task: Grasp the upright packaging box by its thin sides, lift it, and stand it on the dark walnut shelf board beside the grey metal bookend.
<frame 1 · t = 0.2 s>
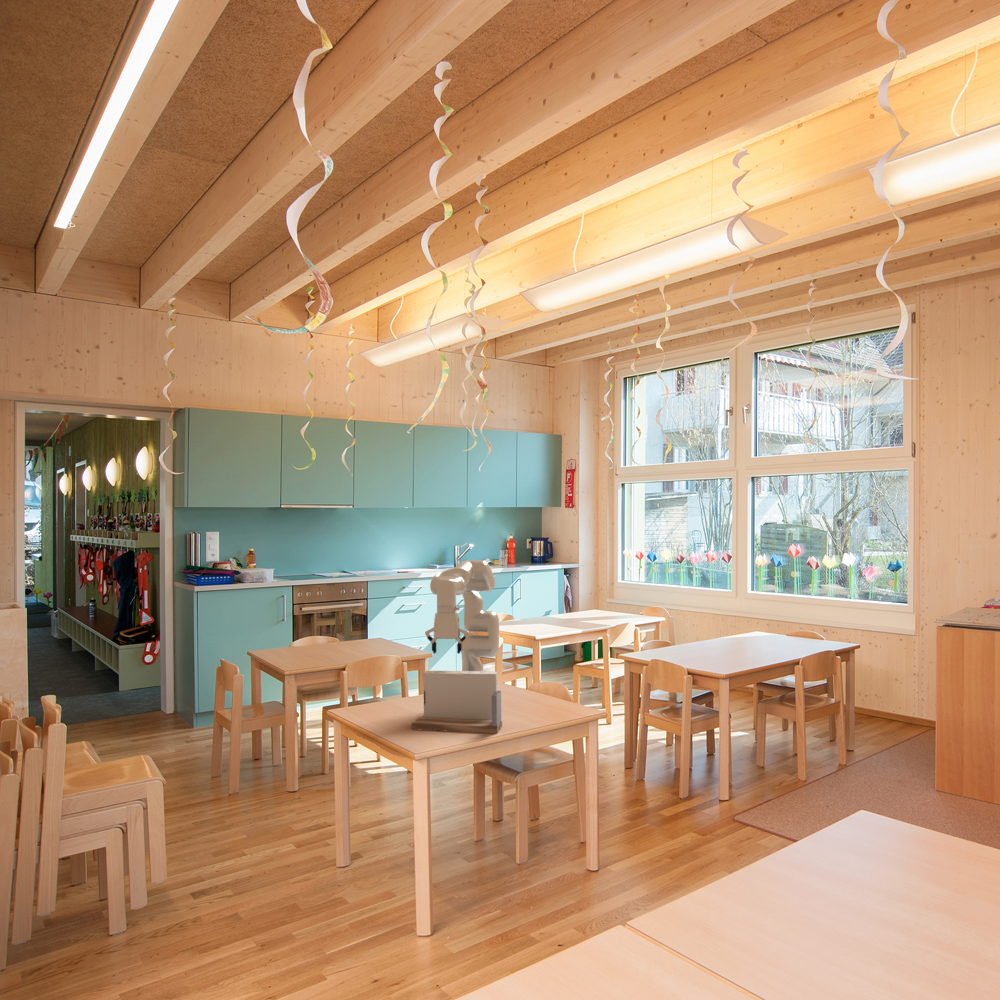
hand: (446, 652, 305), 31 cm above the table, tool pointing down, fingers open, 9 cm apart
packaging: (461, 720, 321), on the table
shelf: (457, 728, 309), on the table
bookend: (496, 723, 306), resting on shelf
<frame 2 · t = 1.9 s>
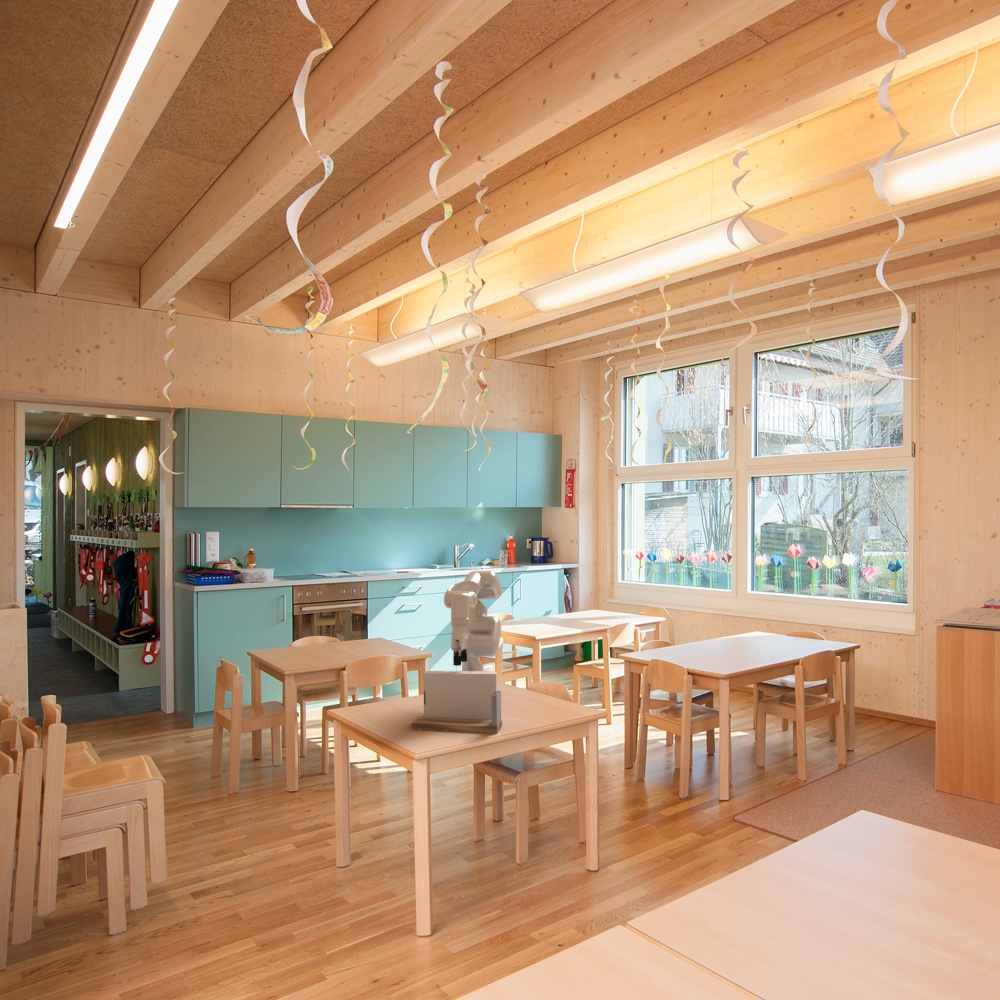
hand: (460, 663, 322), 24 cm above the table, tool pointing down, fingers open, 9 cm apart
nothing on the table moved.
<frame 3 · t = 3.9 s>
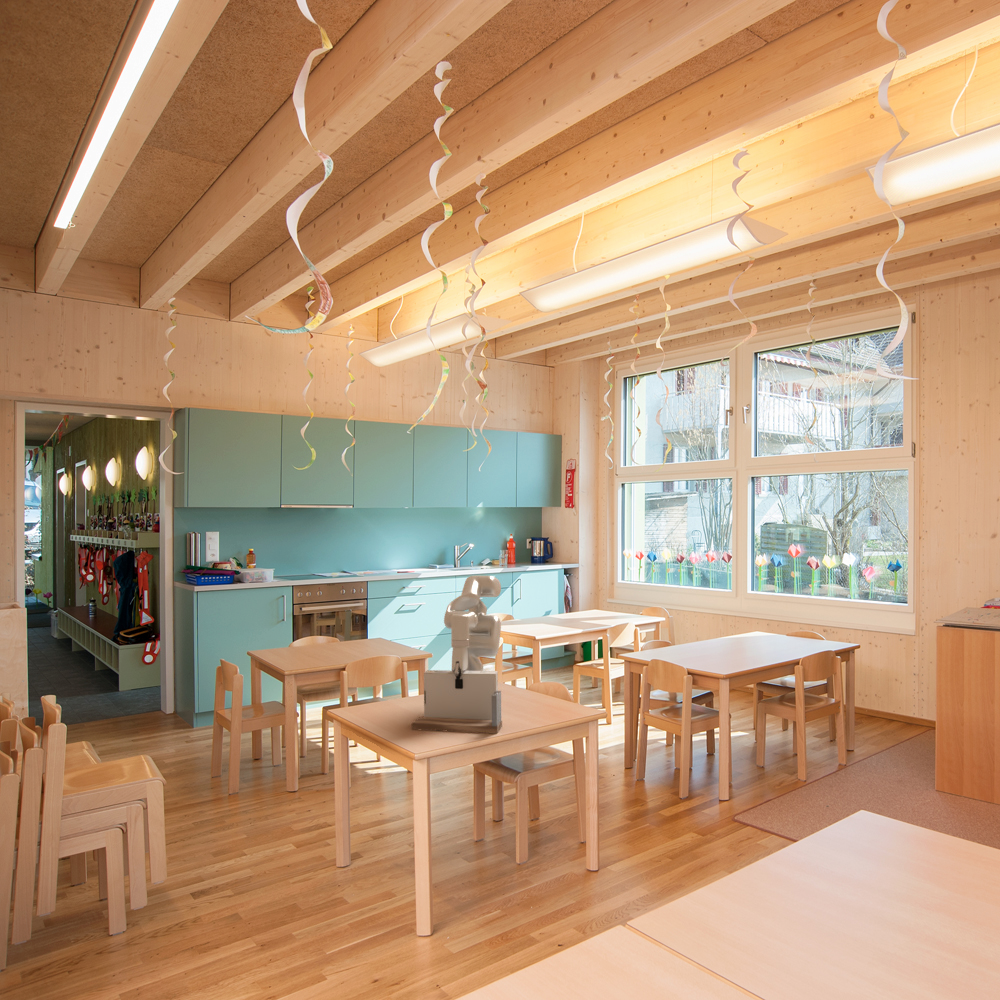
hand: (460, 686, 322), 14 cm above the table, tool pointing down, fingers closed on packaging, 4 cm apart
packaging: (461, 720, 322), on the table, touching gripper
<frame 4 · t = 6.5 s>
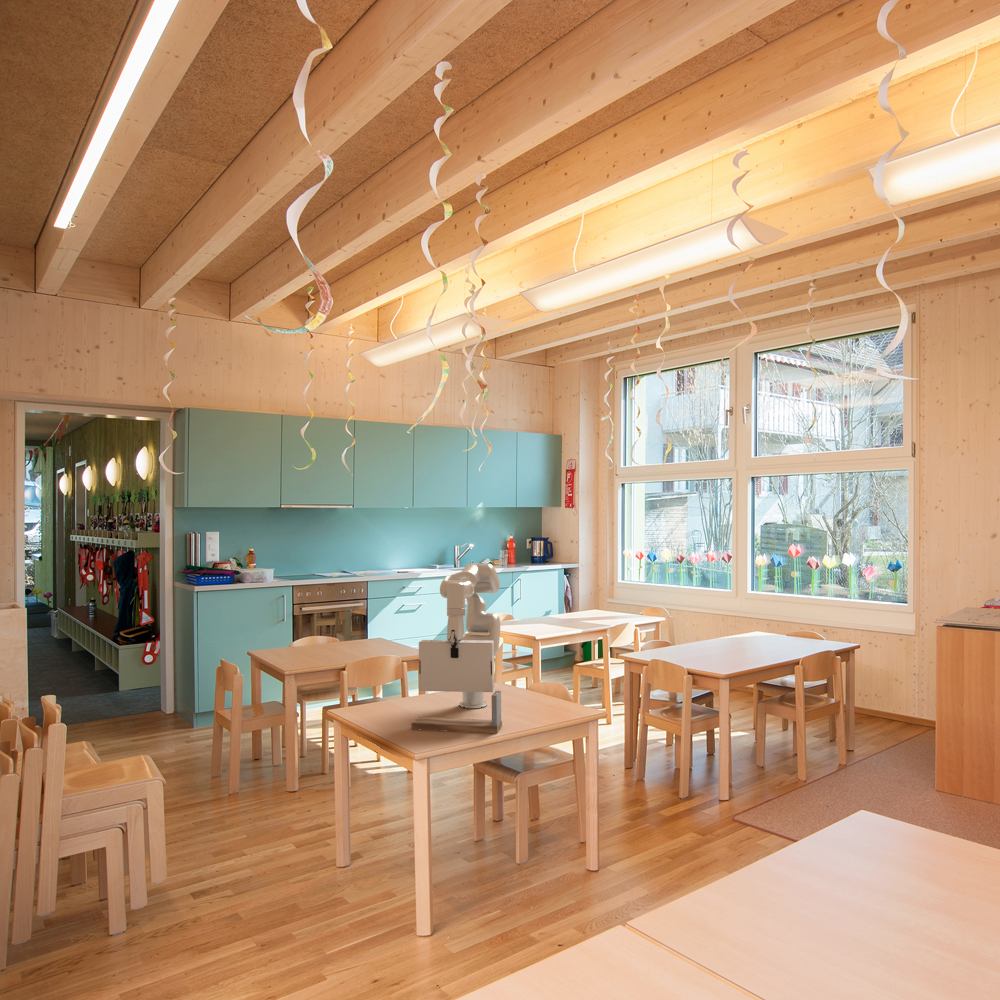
hand: (456, 656, 315), 28 cm above the table, tool pointing down, fingers closed on packaging, 4 cm apart
packaging: (456, 690, 315), point 14 cm above the table, touching gripper
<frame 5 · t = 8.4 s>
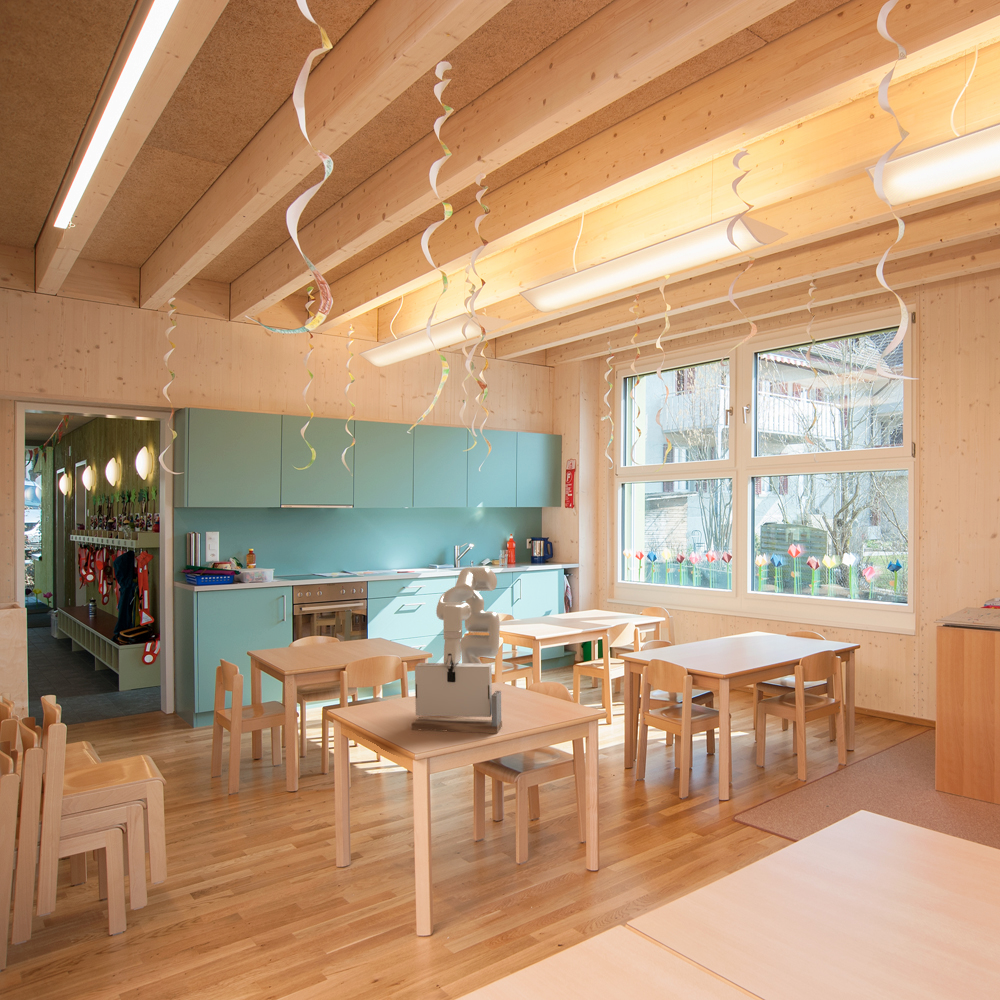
hand: (453, 680, 310), 19 cm above the table, tool pointing down, fingers closed on packaging, 4 cm apart
packaging: (454, 714, 310), point 5 cm above the table, touching gripper
when the fingers open (18 cm above the table, at t = 9.5 s): packaging moves 2 cm, resting on shelf.
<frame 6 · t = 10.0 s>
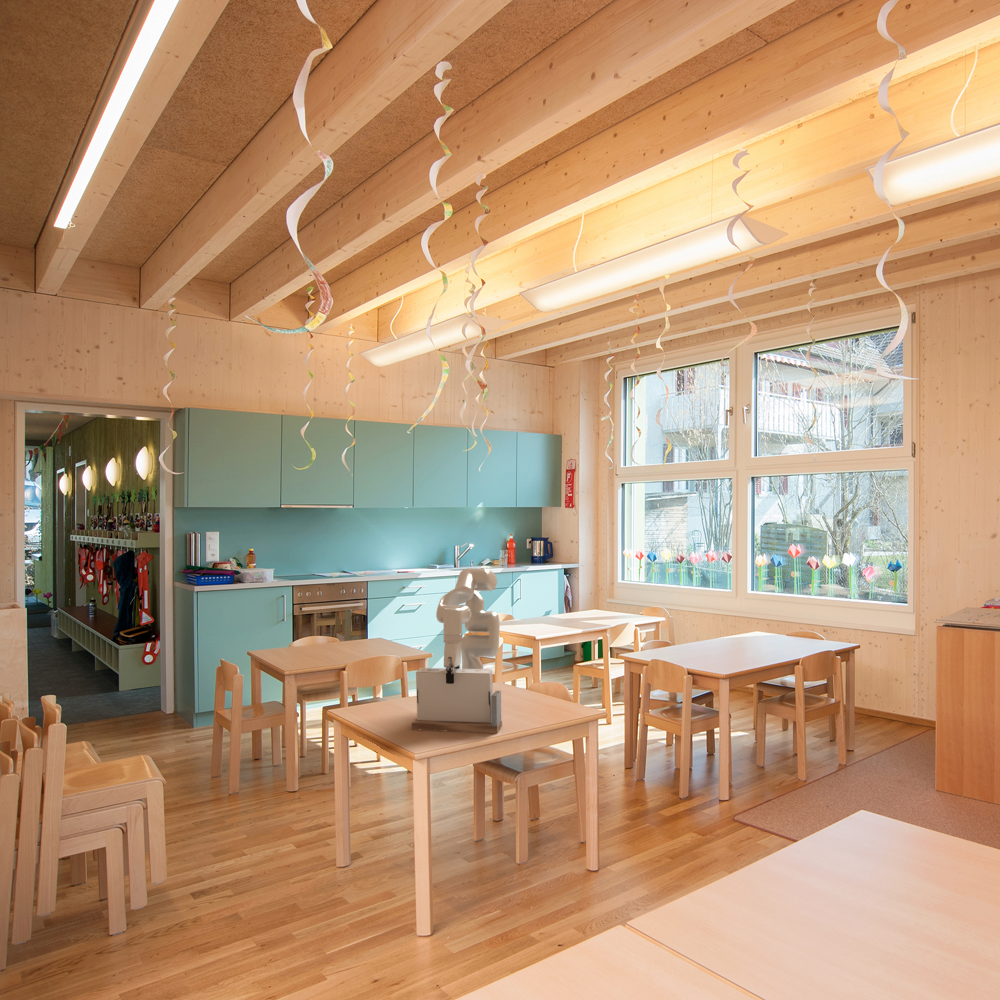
hand: (453, 681, 310), 19 cm above the table, tool pointing down, fingers open, 9 cm apart
packaging: (455, 719, 313), point 3 cm above the table, touching shelf
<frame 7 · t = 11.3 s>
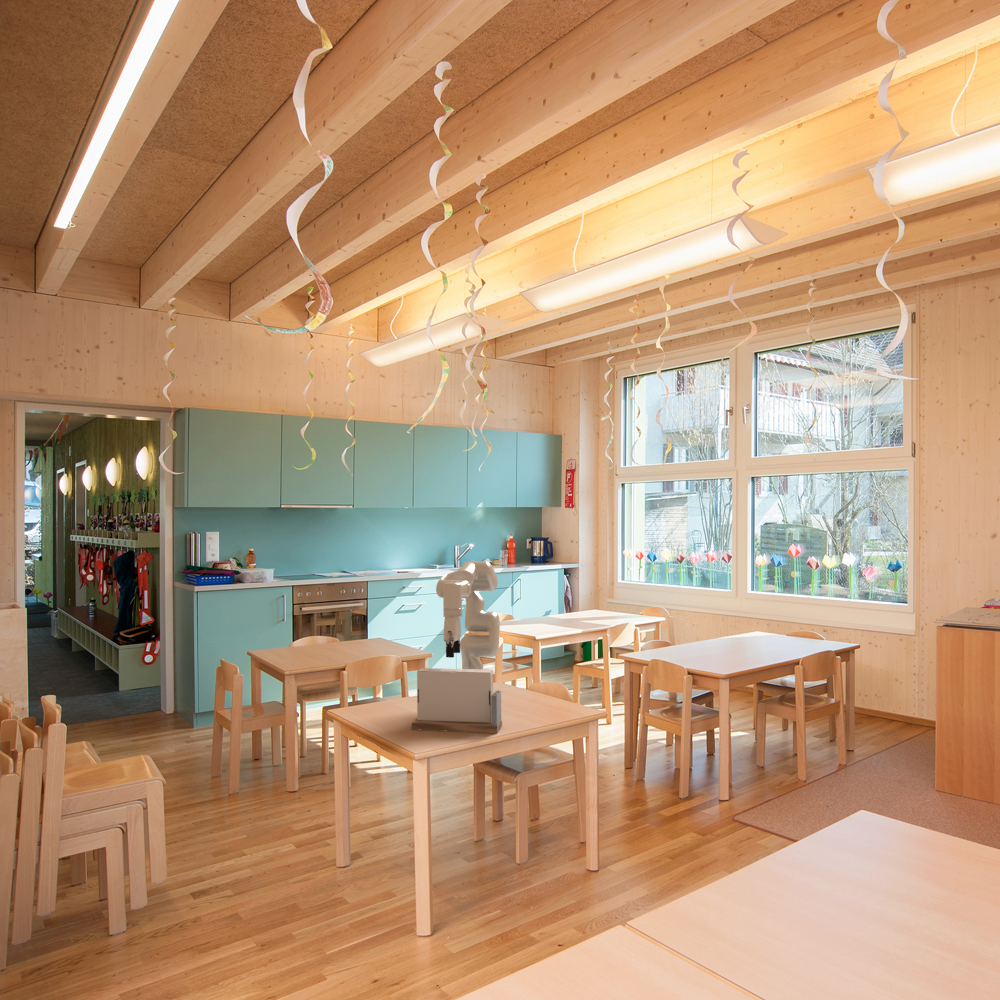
hand: (453, 655, 311), 29 cm above the table, tool pointing down, fingers open, 9 cm apart
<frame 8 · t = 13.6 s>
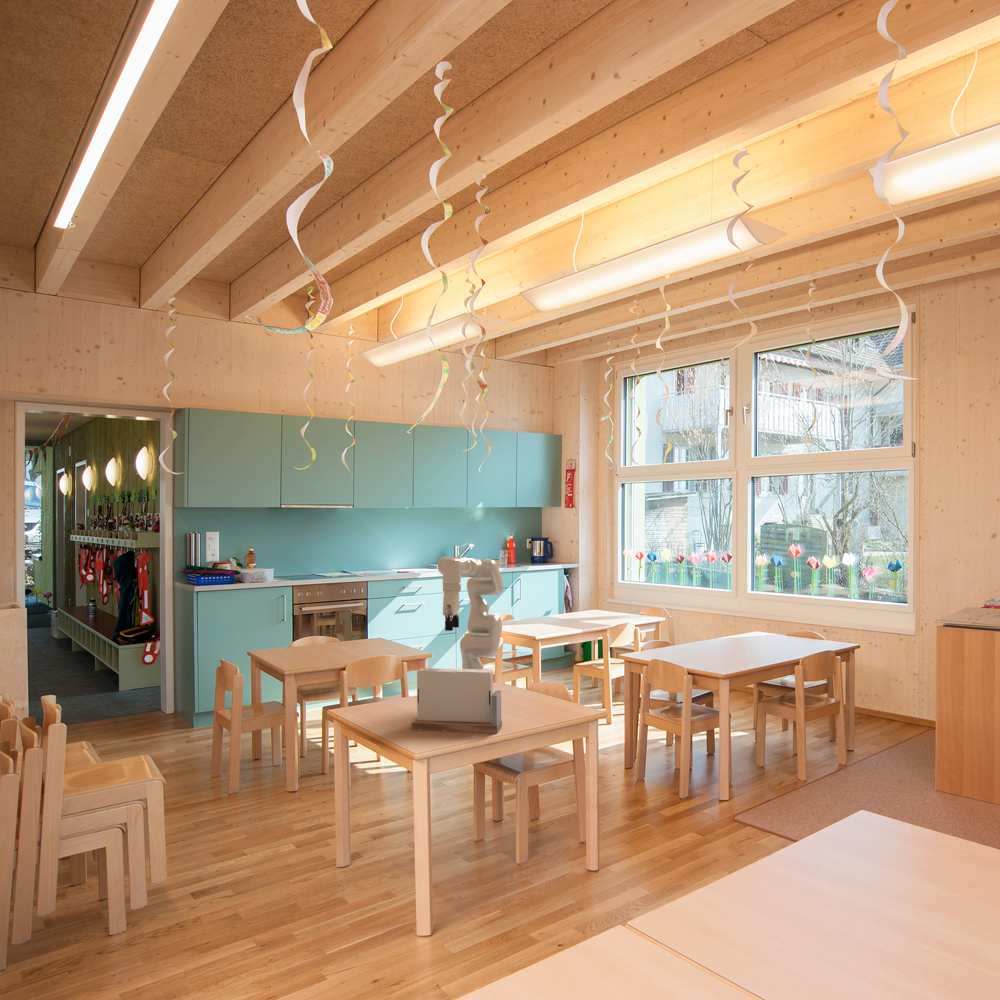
hand: (452, 628, 321), 38 cm above the table, tool pointing down, fingers open, 9 cm apart
nothing on the table moved.
at the end: packaging inside the target area (2.0 cm from its centre), point 2.3 cm above the table; packaging tilted 0°; the gripper is holding nothing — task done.
